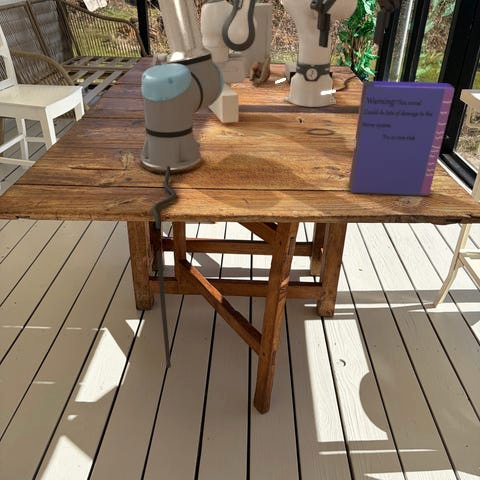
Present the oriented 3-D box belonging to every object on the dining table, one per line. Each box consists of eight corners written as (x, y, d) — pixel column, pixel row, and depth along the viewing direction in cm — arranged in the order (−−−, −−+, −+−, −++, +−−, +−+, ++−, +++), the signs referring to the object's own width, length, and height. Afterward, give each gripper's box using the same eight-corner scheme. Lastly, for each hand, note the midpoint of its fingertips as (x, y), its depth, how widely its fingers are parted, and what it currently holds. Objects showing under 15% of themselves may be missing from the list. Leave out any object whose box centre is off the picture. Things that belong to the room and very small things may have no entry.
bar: (238, 121, 150) (238, 94, 145) (222, 123, 148) (222, 95, 144) (220, 103, 168) (220, 78, 164) (206, 104, 167) (205, 79, 162)
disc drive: (289, 84, 198) (290, 71, 196) (284, 72, 218) (284, 61, 215) (331, 84, 199) (332, 72, 196) (322, 72, 218) (323, 61, 215)
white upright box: (273, 76, 210) (276, 6, 196) (239, 77, 209) (240, 6, 194) (266, 67, 226) (268, 2, 212) (235, 67, 225) (235, 1, 210)
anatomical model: (260, 88, 207) (256, 89, 193) (245, 74, 206) (240, 74, 192) (280, 65, 202) (277, 65, 188) (265, 51, 201) (261, 49, 187)
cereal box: (423, 187, 112) (447, 82, 100) (428, 195, 108) (454, 87, 96) (348, 184, 113) (363, 79, 101) (351, 192, 109) (367, 85, 96)
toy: (172, 75, 209) (171, 59, 206) (148, 65, 227) (147, 49, 223) (219, 69, 221) (219, 54, 218) (193, 60, 239) (193, 45, 235)
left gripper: (407, -68, 100) (389, 40, 111) (299, -72, 93) (291, 44, 104) (430, -69, 94) (409, 45, 105) (316, -73, 87) (306, 50, 98)
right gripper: (242, 51, 161) (242, 93, 168) (182, 54, 156) (184, 96, 163) (248, 54, 156) (247, 97, 163) (186, 57, 151) (188, 101, 158)
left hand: (350, 45), depth 105 cm, fingers open, 13 cm apart
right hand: (215, 97), depth 163 cm, fingers closed on bar, 5 cm apart
